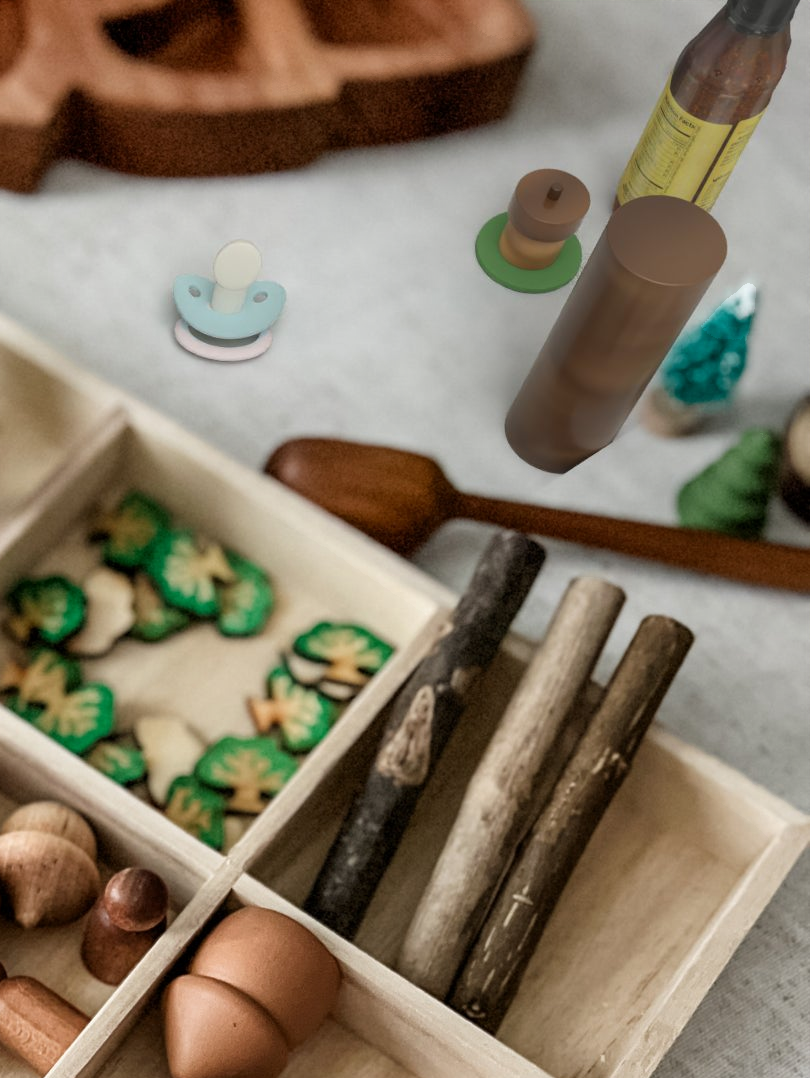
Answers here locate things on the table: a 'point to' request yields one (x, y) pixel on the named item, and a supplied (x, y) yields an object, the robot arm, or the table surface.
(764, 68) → the sauce bottle
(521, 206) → the stemmed brown cap
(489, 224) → the coaster
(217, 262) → the pacifier
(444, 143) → the table surface
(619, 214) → the brown cylinder
